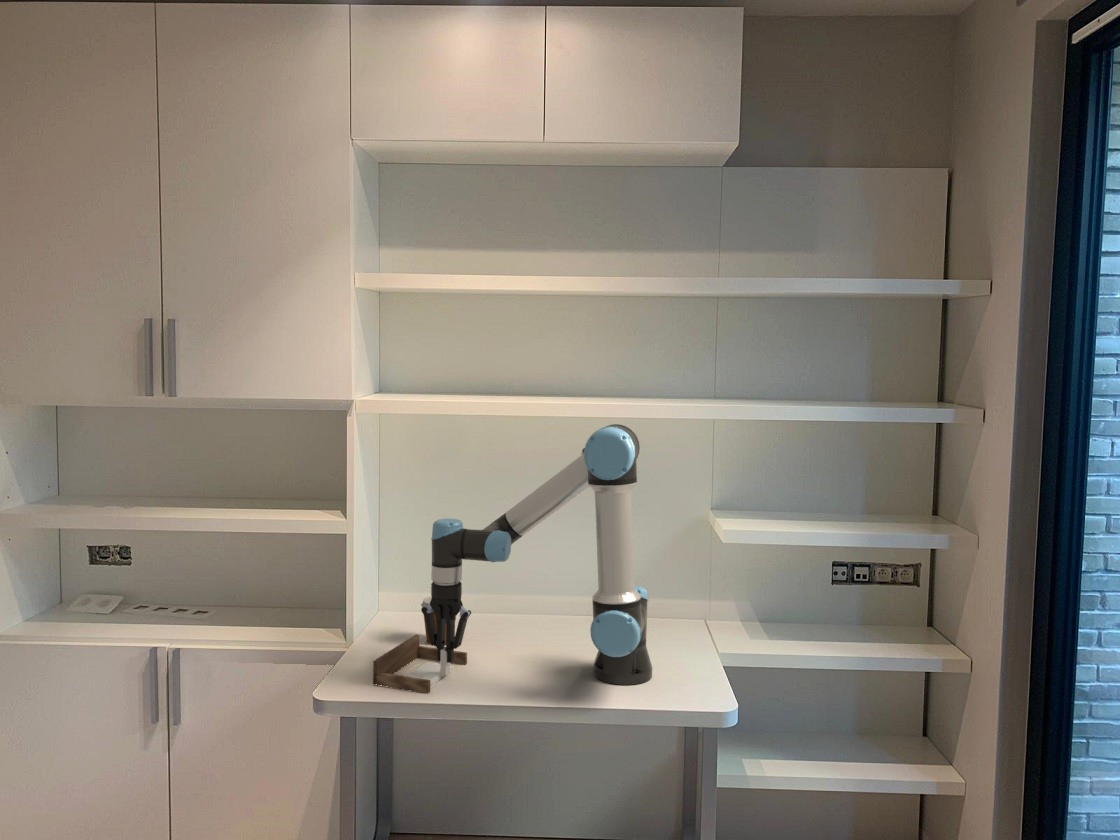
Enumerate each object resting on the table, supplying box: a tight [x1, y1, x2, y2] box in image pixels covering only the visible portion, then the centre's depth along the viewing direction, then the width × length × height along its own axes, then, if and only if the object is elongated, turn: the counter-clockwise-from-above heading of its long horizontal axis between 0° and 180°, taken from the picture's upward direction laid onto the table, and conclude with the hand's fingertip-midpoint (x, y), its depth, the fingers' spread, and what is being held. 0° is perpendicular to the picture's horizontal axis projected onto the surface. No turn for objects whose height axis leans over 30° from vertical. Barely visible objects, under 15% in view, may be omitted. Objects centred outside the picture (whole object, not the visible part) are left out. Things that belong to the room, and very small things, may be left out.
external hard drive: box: [405, 661, 453, 687], centre depth 218 cm, size 2×8×12 cm
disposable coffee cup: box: [420, 596, 446, 645], centre depth 244 cm, size 10×10×12 cm
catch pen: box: [372, 634, 468, 694], centre depth 219 cm, size 15×22×6 cm
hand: (445, 673), depth 217 cm, fingers closed
